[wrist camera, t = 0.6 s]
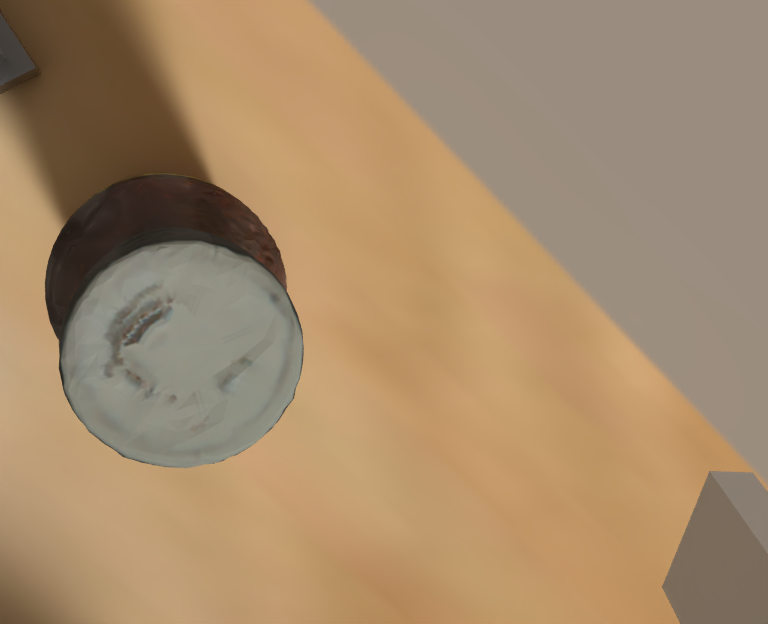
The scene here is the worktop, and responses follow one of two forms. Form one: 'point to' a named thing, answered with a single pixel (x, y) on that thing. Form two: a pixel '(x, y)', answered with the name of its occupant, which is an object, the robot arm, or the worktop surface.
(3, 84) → the open gray square box
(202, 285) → the sauce bottle
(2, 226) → the worktop surface
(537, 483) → the worktop surface
